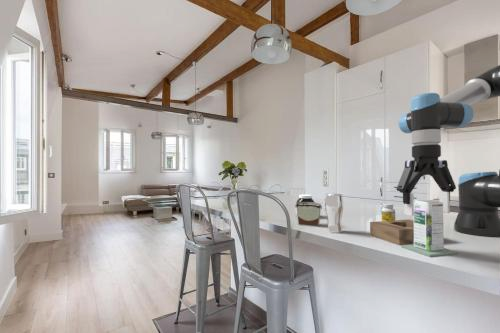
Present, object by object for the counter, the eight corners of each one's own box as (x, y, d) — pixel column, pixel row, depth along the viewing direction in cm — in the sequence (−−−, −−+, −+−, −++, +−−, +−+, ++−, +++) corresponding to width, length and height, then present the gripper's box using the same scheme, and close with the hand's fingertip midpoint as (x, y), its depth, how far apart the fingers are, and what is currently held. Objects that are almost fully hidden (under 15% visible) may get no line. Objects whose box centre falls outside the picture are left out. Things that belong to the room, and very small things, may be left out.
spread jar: (297, 218, 139) (297, 195, 139) (293, 214, 150) (293, 194, 150) (320, 218, 139) (320, 195, 139) (315, 214, 150) (314, 193, 150)
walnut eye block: (409, 231, 106) (408, 219, 107) (442, 240, 93) (442, 226, 93) (370, 235, 102) (370, 222, 102) (399, 245, 88) (399, 230, 88)
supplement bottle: (398, 226, 117) (397, 204, 117) (389, 227, 115) (389, 205, 115) (387, 224, 122) (386, 203, 122) (379, 225, 120) (378, 203, 120)
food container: (326, 224, 122) (325, 202, 123) (321, 227, 117) (321, 204, 117) (300, 222, 129) (300, 201, 129) (295, 224, 124) (295, 202, 124)
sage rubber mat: (426, 244, 89) (426, 242, 89) (456, 253, 79) (456, 251, 79) (401, 247, 86) (401, 245, 86) (429, 256, 77) (429, 254, 77)
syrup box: (412, 246, 85) (412, 200, 85) (427, 244, 86) (426, 199, 86) (429, 251, 79) (428, 202, 79) (444, 250, 81) (443, 201, 81)
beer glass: (344, 233, 105) (344, 195, 105) (326, 232, 107) (325, 195, 107) (342, 229, 112) (341, 193, 112) (325, 229, 114) (324, 193, 114)
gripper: (446, 146, 90) (447, 209, 90) (382, 145, 84) (384, 213, 83) (469, 144, 83) (470, 213, 82) (402, 143, 76) (403, 218, 76)
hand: (427, 213), depth 83 cm, fingers open, 13 cm apart
